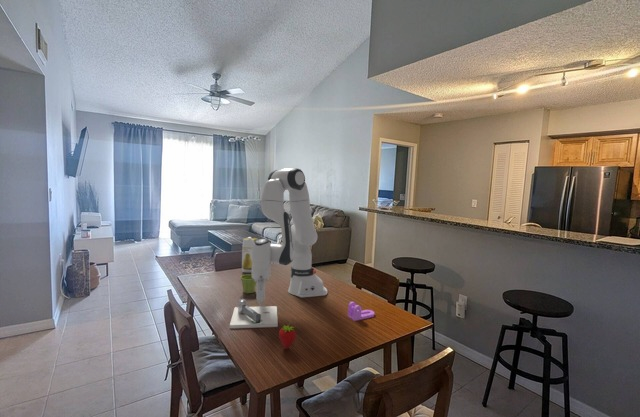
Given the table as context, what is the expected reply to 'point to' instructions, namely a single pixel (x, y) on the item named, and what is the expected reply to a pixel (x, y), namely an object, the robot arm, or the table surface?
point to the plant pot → (248, 283)
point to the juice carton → (247, 254)
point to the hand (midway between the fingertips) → (260, 301)
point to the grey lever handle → (248, 311)
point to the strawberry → (287, 336)
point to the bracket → (358, 312)
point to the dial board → (244, 321)
